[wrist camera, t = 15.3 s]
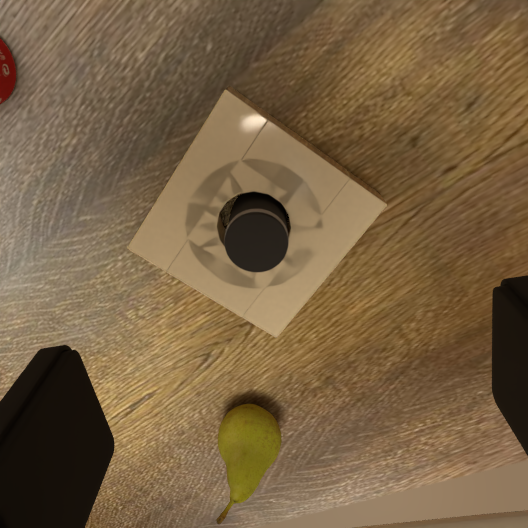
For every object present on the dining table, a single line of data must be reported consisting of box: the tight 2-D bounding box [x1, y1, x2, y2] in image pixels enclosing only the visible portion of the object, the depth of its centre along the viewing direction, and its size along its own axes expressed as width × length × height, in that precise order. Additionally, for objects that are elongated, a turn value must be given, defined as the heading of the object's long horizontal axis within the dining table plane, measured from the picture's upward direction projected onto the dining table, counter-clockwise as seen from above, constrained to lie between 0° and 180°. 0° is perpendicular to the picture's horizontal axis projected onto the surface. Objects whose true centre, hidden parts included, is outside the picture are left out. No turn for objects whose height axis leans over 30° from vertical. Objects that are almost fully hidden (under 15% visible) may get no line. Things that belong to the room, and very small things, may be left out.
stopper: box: [224, 191, 289, 272], centre depth 37 cm, size 4×4×6 cm
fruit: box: [217, 404, 281, 524], centre depth 42 cm, size 6×6×12 cm
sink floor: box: [127, 86, 387, 338], centre depth 38 cm, size 14×14×3 cm
